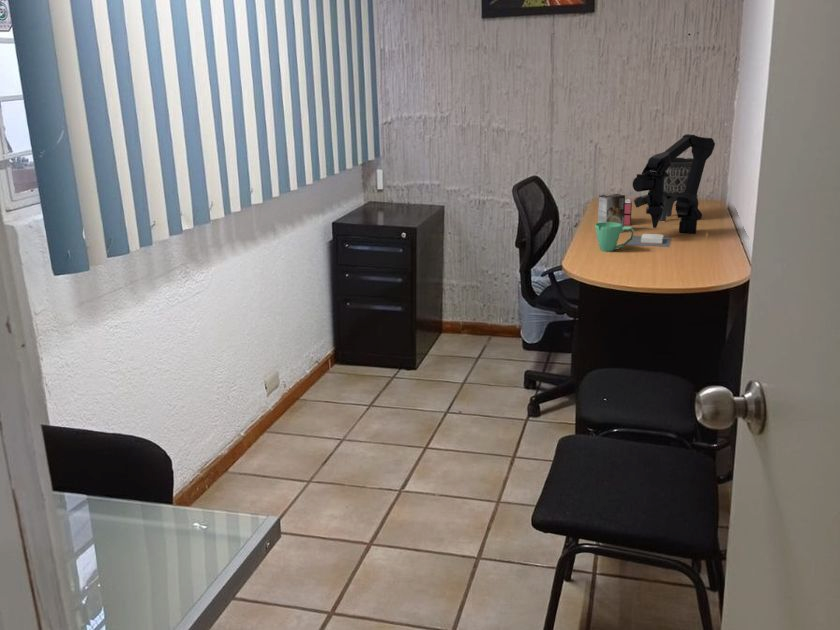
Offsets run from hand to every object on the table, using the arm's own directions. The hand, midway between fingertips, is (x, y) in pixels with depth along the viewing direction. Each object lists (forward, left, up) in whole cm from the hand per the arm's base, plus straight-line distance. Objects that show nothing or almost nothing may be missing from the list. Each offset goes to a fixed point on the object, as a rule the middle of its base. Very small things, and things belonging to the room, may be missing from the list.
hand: (654, 227), depth 328 cm
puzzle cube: (+17, -30, -5) cm, 35 cm away
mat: (+1, +7, -5) cm, 8 cm away
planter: (-6, -44, -5) cm, 45 cm away
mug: (+13, +24, -5) cm, 28 cm away
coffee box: (+18, -8, -5) cm, 21 cm away
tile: (0, +3, -3) cm, 4 cm away
